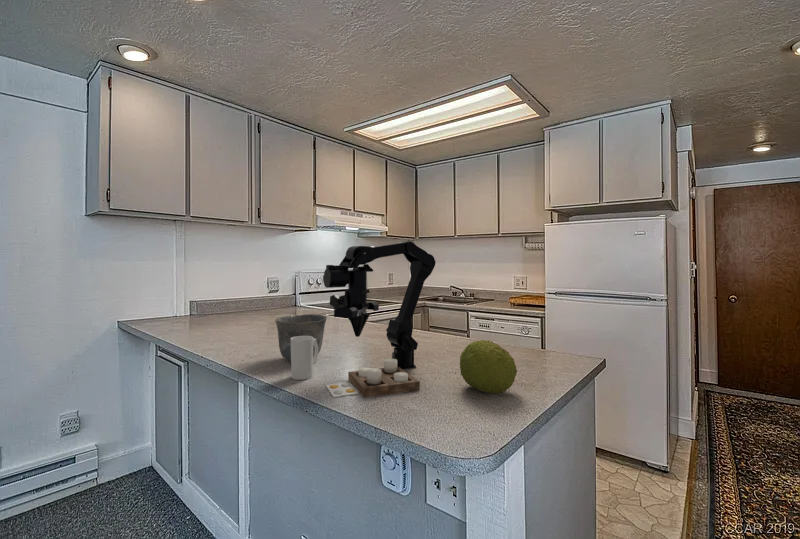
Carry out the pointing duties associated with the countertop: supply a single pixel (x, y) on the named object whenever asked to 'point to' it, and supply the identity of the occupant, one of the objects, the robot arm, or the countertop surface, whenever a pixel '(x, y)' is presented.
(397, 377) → the button
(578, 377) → the countertop surface
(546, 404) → the countertop surface
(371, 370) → the button
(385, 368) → the pale grey egg
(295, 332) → the dark grey pot
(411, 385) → the board
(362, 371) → the white egg
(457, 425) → the countertop surface
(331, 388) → the card
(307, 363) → the mug
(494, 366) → the fruit
